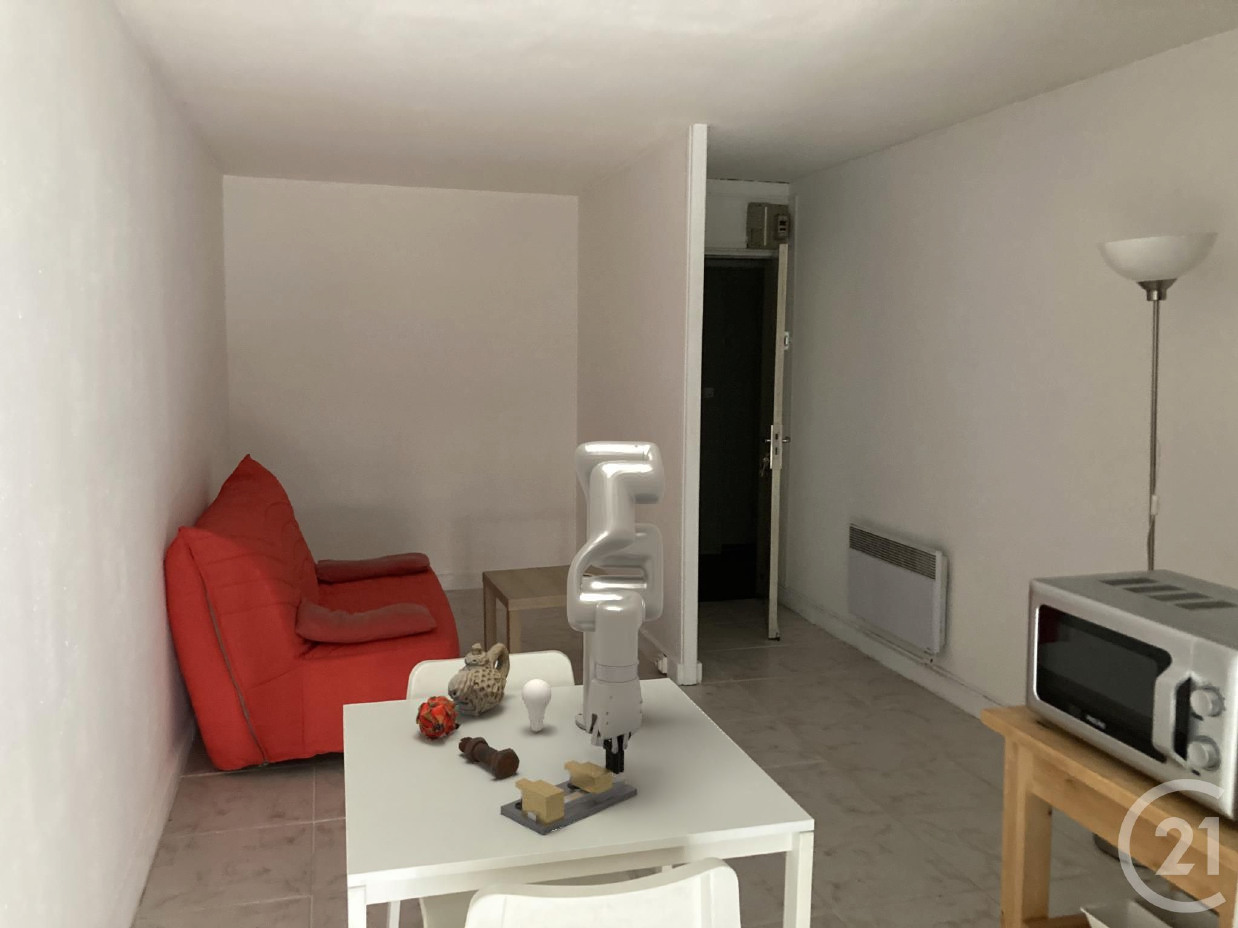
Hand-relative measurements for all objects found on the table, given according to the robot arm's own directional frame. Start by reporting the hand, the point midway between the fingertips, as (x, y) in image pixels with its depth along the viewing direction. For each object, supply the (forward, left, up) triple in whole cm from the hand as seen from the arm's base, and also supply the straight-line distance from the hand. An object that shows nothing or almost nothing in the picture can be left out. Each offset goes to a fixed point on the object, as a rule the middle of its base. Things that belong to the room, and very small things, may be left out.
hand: (614, 770), depth 181 cm
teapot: (-8, -50, -4) cm, 51 cm away
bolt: (+9, -25, -4) cm, 27 cm away
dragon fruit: (+7, -44, -4) cm, 45 cm away
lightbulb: (-9, -32, -4) cm, 33 cm away
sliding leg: (+6, -1, -2) cm, 6 cm away
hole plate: (+9, -2, -4) cm, 10 cm away
